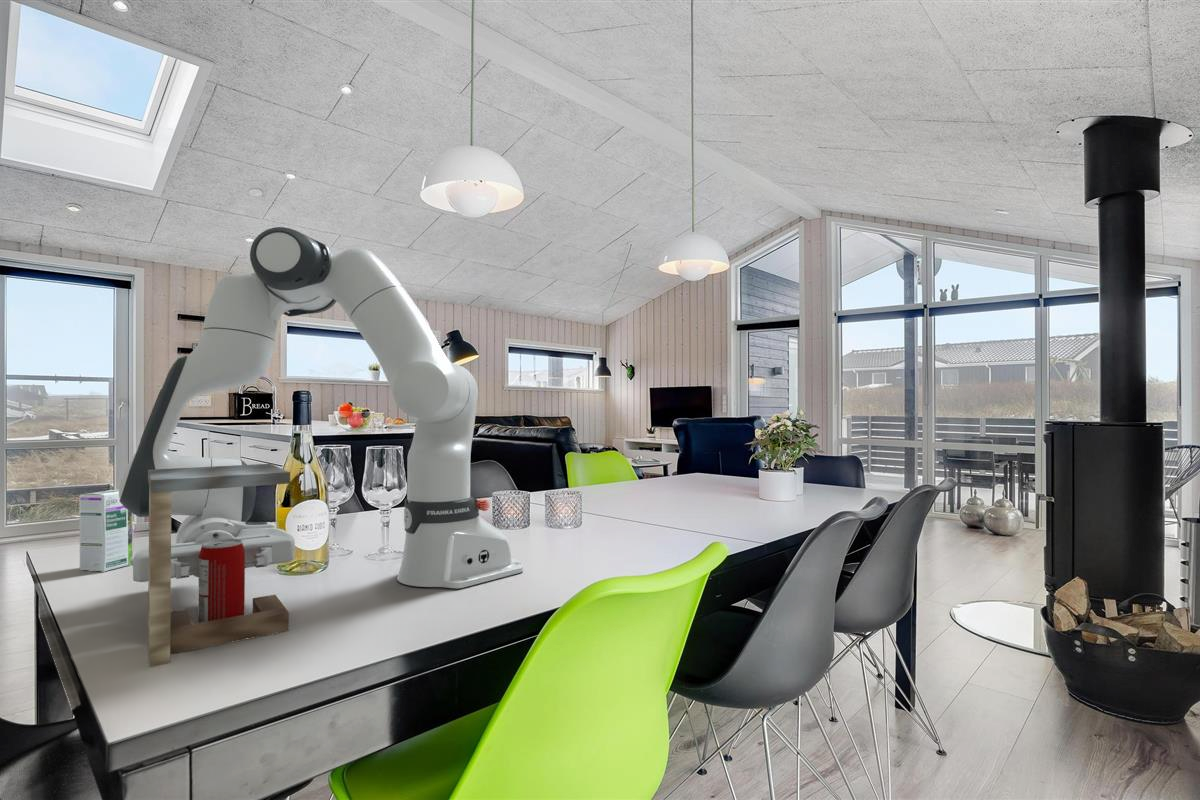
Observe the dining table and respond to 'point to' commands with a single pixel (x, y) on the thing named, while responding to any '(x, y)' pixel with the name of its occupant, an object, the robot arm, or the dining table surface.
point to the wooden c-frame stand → (160, 533)
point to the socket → (228, 626)
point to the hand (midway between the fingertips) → (223, 566)
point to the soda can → (221, 580)
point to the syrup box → (104, 531)
